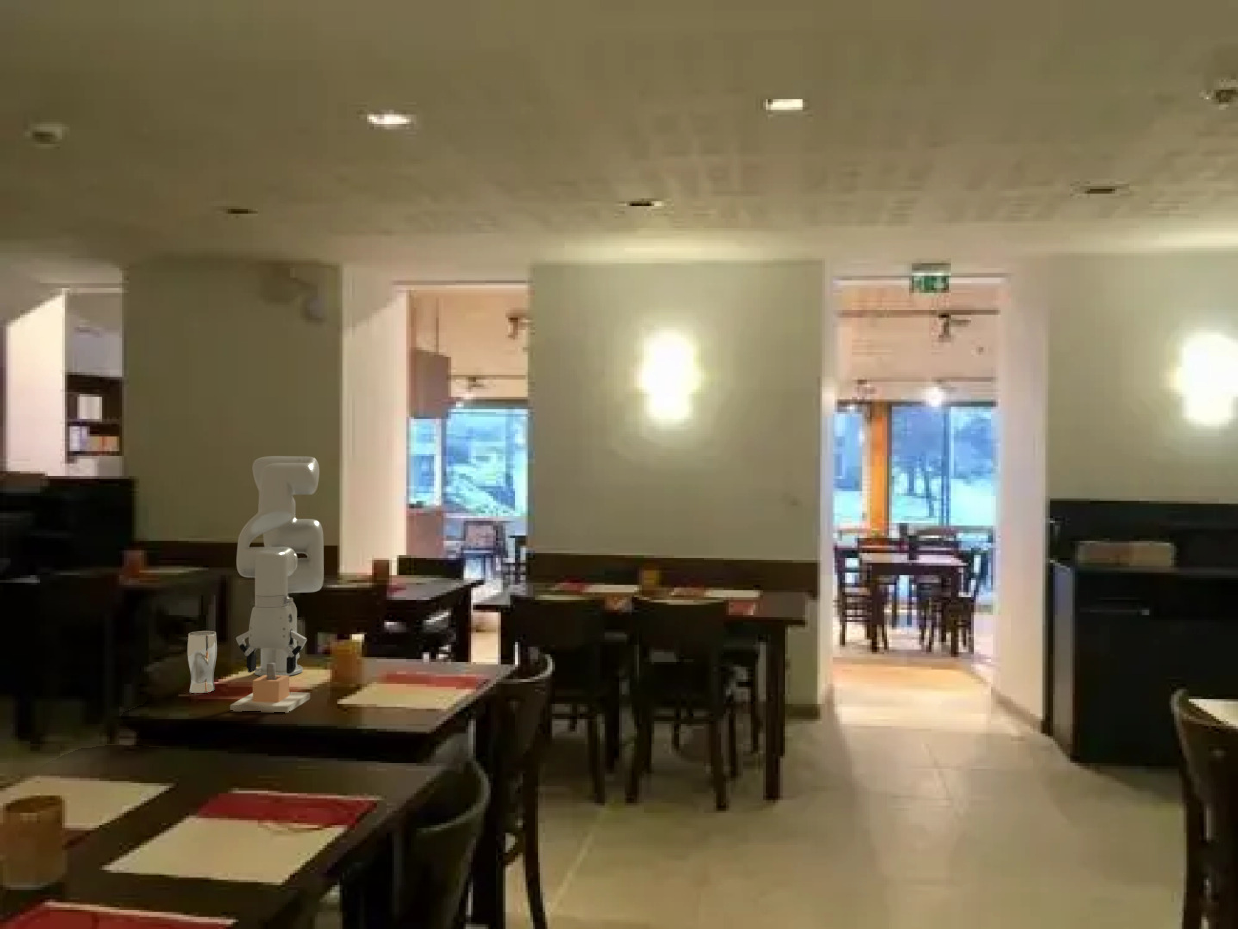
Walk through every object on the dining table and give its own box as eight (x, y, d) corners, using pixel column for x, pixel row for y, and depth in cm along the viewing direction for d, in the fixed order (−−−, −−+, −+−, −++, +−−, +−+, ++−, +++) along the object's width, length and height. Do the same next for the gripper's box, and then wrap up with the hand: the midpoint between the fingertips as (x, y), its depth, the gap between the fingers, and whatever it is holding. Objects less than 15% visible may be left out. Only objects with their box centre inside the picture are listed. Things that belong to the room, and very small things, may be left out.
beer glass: (221, 689, 271) (221, 631, 271) (208, 695, 264) (208, 636, 264) (196, 688, 272) (196, 630, 272) (182, 694, 265) (182, 635, 265)
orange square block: (263, 695, 259) (263, 675, 259) (289, 696, 258) (289, 675, 258) (252, 701, 252) (252, 680, 252) (278, 702, 252) (278, 681, 252)
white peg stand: (255, 697, 263) (255, 657, 263) (310, 698, 262) (310, 658, 261) (230, 711, 249) (230, 669, 249) (287, 713, 248) (287, 670, 247)
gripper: (311, 600, 258) (311, 669, 258) (243, 598, 259) (243, 667, 260) (299, 605, 250) (299, 676, 251) (230, 603, 252) (229, 674, 252)
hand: (271, 672), depth 255 cm, fingers open, 9 cm apart
